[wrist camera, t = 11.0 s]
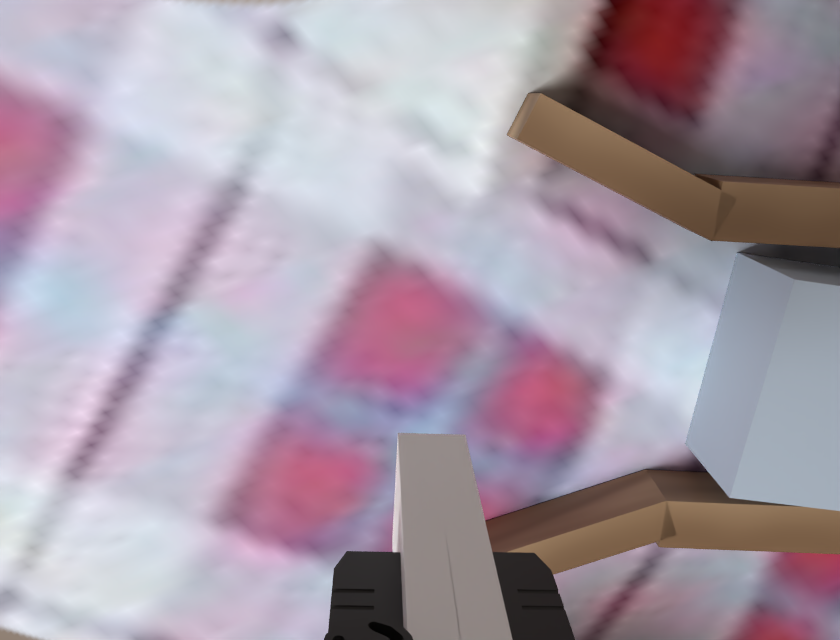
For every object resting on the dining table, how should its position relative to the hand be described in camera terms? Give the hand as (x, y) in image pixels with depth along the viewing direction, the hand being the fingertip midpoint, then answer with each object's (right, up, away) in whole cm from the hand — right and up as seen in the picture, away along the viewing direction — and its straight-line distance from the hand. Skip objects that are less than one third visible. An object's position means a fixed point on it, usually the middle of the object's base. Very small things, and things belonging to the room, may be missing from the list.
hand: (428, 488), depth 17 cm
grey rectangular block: (+15, +2, +13) cm, 20 cm away
